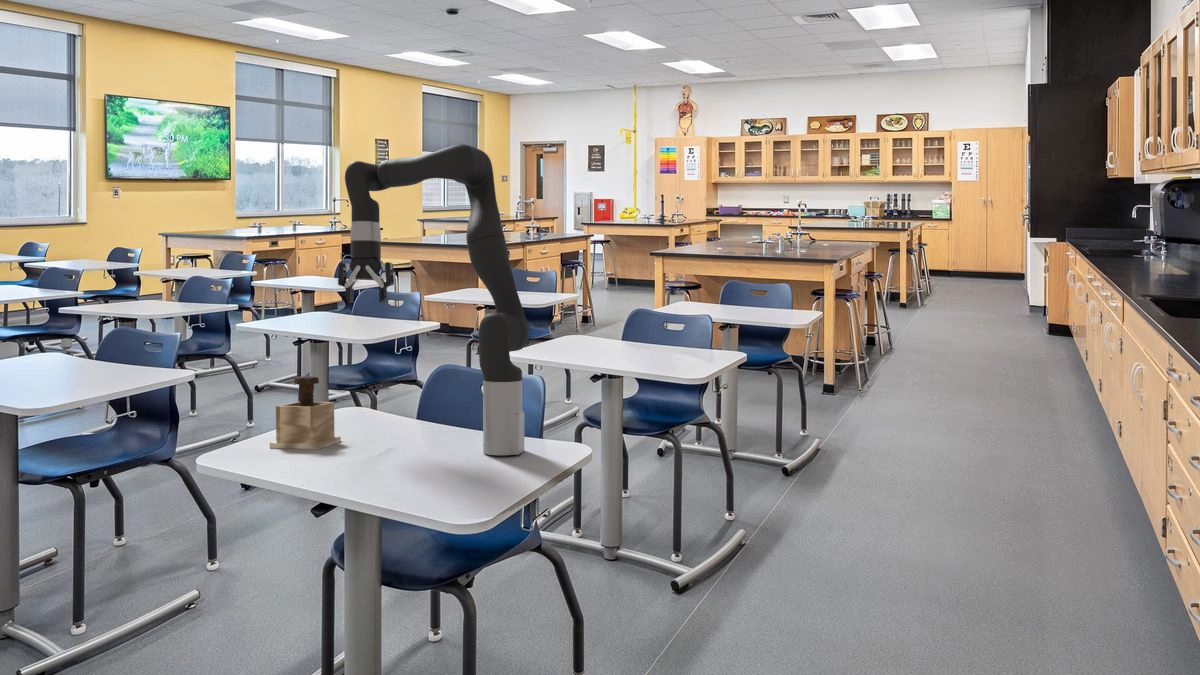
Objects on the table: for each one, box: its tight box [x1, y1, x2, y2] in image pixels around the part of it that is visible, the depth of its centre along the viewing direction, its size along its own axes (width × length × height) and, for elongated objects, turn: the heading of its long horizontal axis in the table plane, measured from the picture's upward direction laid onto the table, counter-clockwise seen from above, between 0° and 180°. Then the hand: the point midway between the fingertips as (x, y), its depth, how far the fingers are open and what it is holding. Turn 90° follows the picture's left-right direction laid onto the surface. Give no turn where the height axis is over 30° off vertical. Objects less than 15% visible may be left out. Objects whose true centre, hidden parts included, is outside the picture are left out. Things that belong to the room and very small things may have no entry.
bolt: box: [293, 375, 320, 406], centre depth 207 cm, size 6×5×15 cm
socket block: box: [269, 401, 342, 450], centre depth 207 cm, size 12×12×10 cm
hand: (366, 302), depth 225 cm, fingers open, 8 cm apart
